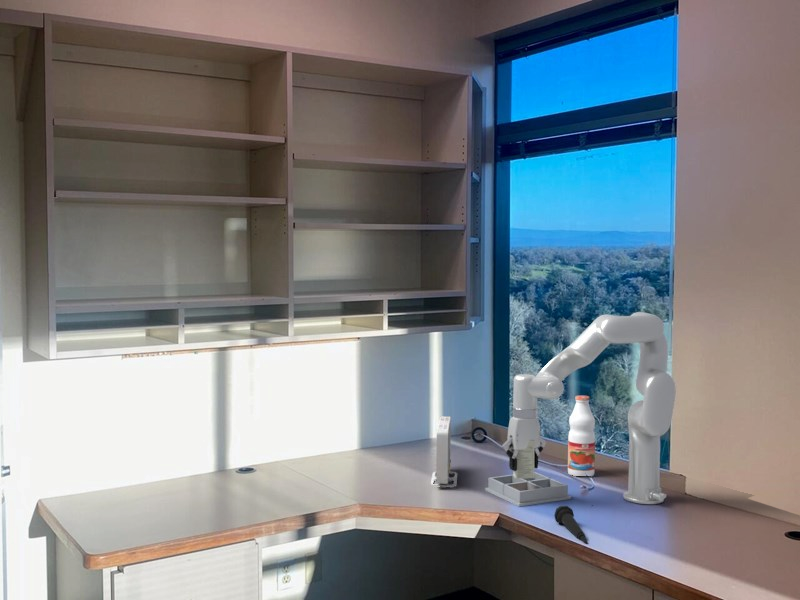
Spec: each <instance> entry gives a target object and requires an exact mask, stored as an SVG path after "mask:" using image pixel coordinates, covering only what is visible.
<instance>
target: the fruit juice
mask: <svg viewBox="0 0 800 600" xmlns="http://www.w3.org/2000/svg"><path fill="white" fill-rule="evenodd" d="M574 399H575V404H574V408H573V410H572V413H571V414H570V416H569V418H568V424H569V431H568V435H567V436H568V438H567V439H568V441H567V473H568V475H569V476H572V475H573V477H576V476H586V474H585V473H587V474H588V475H590V476H591V477H594V476H595V469H596V467H595V466H596V461H595V460H596V432H595V431H594V428H595V426H596V425H595V424H596V419H595V416H594V414H593V413H592V410H591V406H590V404H589V403H590V396H588V395H576V396H575V398H574Z"/></svg>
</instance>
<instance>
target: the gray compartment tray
mask: <svg viewBox="0 0 800 600" xmlns="http://www.w3.org/2000/svg"><path fill="white" fill-rule="evenodd" d="M487 481H488V483H487V484H488V485H487V487H484V490H485V492H488V493H490V494H492V495H494V496H495V497H498V498H500V499H502V500H504V501H506V502H507V503H511V504H512V505H514V506H515V507H526V506H533V505H541V504H546V503H552V502H558V501H565V500H567V501H568V500H571V499H572V496H571V495H569V493H568V492H569V491H568V489H569V486H568V484H566V483H563V482H560V481H558V480H557V479H554V478H551V477H548V476H546V475H543V474H541V473H539V472H536V471H534V478H515V477H514V475H513V474H508V475H506V474H505V475H500V476H492V477H488V479H487Z"/></svg>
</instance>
